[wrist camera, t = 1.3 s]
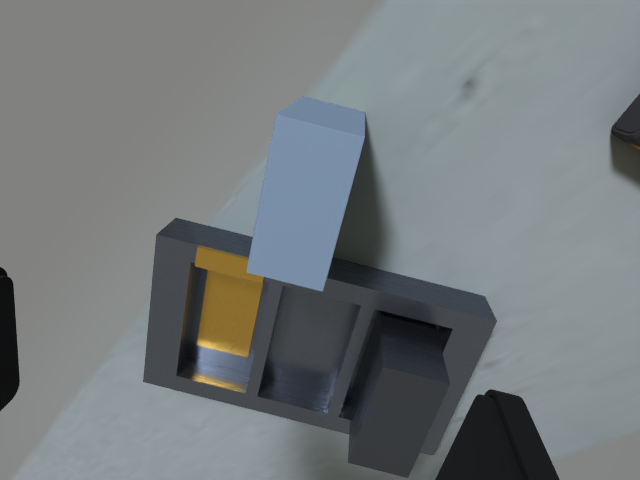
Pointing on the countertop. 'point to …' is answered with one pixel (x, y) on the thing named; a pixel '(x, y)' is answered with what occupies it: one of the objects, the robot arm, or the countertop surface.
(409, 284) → the rack
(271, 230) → the light blue block
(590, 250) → the countertop surface
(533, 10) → the countertop surface
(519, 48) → the countertop surface
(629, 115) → the electronic device
